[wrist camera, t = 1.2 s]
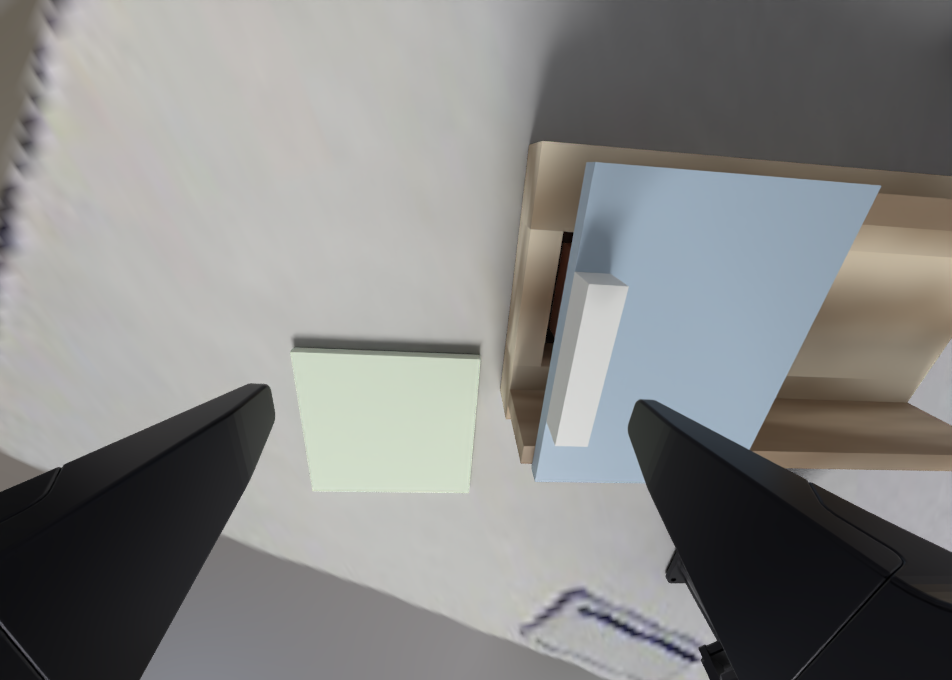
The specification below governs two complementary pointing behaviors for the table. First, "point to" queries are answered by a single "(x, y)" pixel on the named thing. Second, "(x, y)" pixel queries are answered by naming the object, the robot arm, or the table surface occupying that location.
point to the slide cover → (685, 305)
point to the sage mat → (387, 419)
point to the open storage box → (830, 337)
